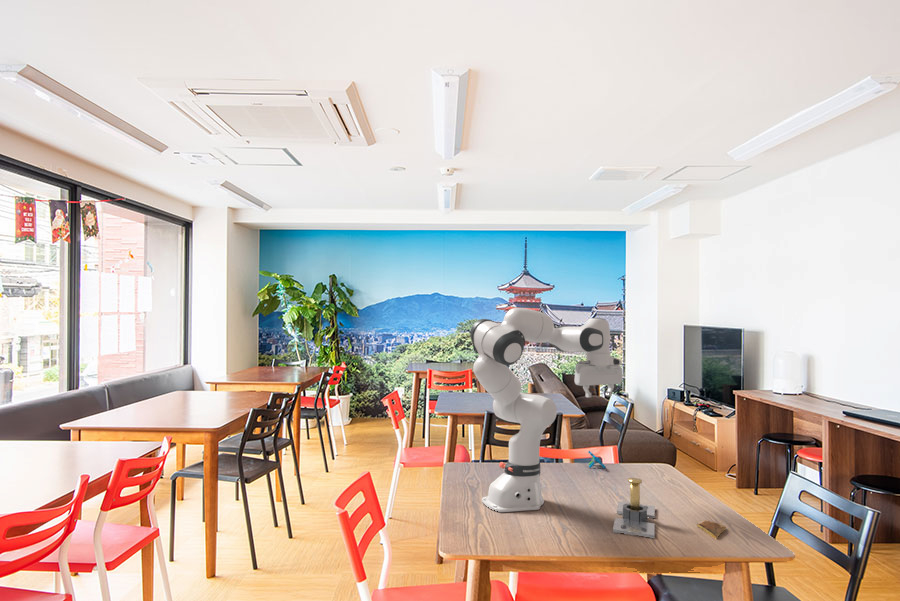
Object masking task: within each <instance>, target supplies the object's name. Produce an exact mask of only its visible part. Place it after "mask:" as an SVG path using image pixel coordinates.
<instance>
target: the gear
mask: <svg viewBox="0 0 900 601" xmlns="http://www.w3.org/2000/svg"><path fill="white" fill-rule="evenodd" d="M587 453H588V454H589V455H590V456H591V457H592V458H591V461H590V462H589V463H588V467H589V468H592V467H593V466H594V465H597V463H598V464H599V465H600V466H601V467H602V468H603V469H606V468H607V467H606V465H605V464H604V463H603V462H601V460H600V458H599V457H598V456H596V455H595V454H593V452H592V451H590V450H589V451H588V452H587Z"/></svg>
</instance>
